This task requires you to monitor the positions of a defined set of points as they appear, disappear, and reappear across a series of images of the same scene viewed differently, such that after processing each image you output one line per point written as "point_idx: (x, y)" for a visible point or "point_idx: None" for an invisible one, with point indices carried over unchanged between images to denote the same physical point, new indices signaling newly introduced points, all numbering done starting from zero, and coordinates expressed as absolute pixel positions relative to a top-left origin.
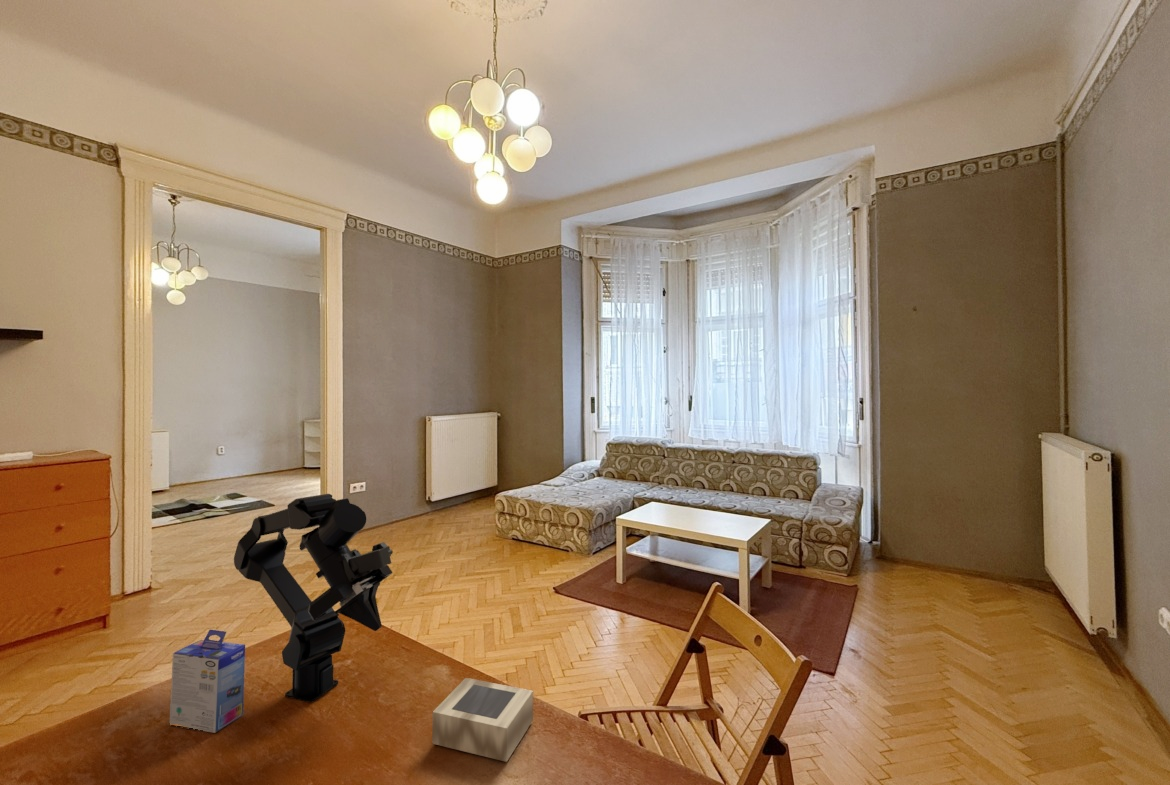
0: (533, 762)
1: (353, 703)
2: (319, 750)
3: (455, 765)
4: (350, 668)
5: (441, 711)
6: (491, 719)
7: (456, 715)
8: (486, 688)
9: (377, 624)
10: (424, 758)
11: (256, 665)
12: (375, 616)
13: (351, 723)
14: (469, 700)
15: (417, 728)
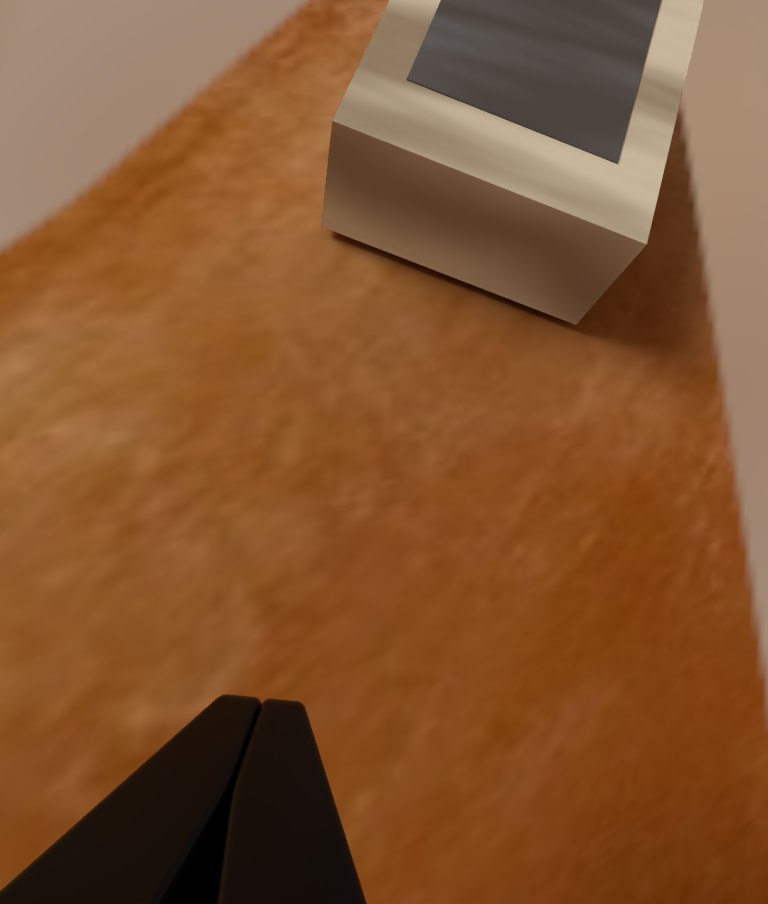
0: None
1: None
2: (637, 858)
3: (657, 235)
4: None
5: (641, 204)
6: (666, 12)
7: (659, 140)
8: (442, 25)
9: (312, 746)
10: (636, 346)
11: None
12: (262, 851)
13: (426, 784)
14: (547, 92)
15: (462, 416)
